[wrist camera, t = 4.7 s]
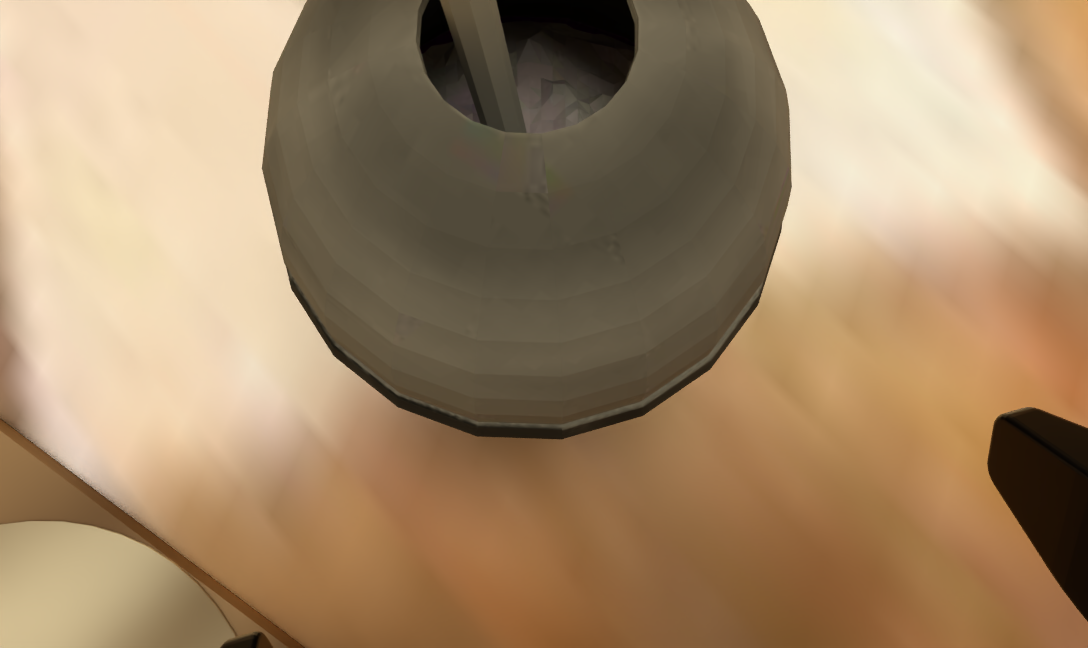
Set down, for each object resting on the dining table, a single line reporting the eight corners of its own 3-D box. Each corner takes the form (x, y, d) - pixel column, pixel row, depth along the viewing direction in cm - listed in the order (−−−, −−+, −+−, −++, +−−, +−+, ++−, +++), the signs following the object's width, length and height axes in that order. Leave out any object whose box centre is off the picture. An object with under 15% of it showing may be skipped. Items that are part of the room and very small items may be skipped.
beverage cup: (584, 520, 22) (993, 689, 2) (350, 388, 23) (-806, -314, 3) (706, 288, 23) (1594, -791, 4) (482, 170, 24) (262, -1272, 4)
